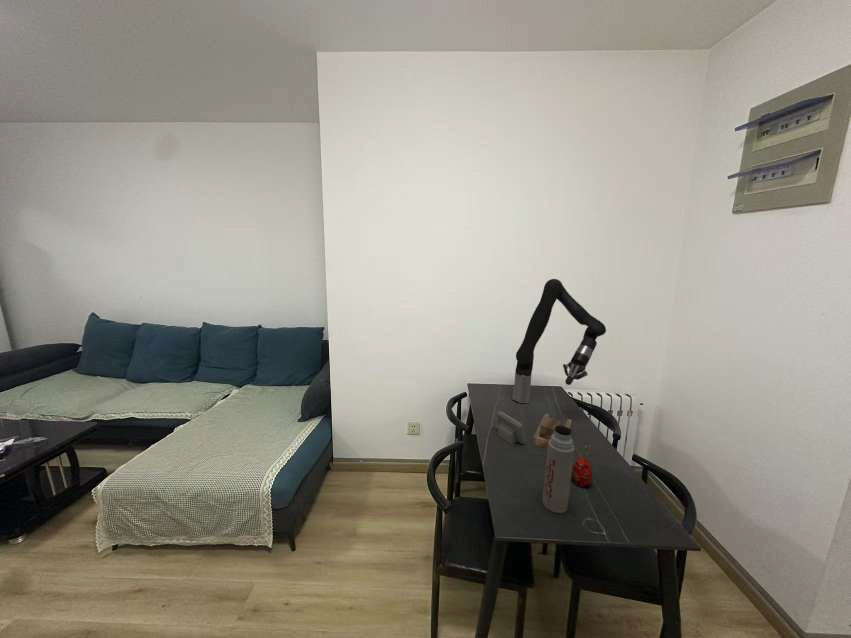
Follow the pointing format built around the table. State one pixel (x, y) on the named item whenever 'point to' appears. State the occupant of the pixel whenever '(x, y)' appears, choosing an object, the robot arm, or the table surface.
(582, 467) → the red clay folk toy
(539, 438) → the chute
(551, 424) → the block
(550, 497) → the thermos bottle
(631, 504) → the table surface
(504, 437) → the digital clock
